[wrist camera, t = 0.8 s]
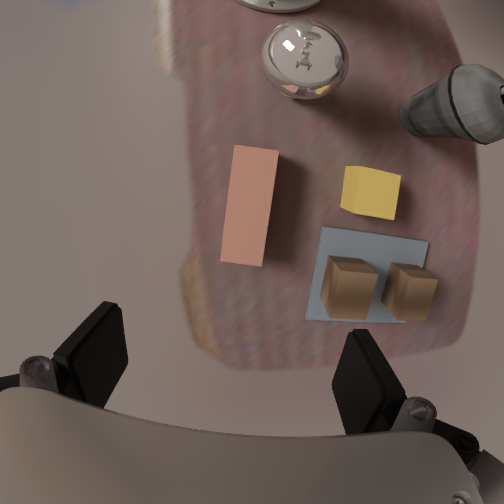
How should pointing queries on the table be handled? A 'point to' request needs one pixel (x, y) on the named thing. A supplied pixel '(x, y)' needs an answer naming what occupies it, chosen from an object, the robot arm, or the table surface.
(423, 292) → the pier
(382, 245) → the board
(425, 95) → the beverage cup
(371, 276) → the block
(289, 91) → the light bulb
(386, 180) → the cube
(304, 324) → the table surface
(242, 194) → the beam
